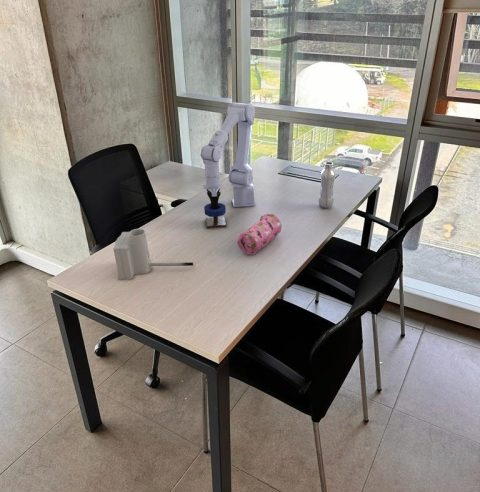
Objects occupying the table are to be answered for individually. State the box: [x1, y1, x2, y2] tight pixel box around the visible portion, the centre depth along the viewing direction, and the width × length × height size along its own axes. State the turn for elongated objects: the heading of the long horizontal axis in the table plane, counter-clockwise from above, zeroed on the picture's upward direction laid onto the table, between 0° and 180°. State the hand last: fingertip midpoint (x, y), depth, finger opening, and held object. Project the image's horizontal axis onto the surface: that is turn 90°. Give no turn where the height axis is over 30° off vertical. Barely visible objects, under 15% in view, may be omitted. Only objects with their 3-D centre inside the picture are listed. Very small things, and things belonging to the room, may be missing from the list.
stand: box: [205, 216, 227, 229], centre depth 191 cm, size 8×8×6 cm
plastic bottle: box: [318, 161, 336, 209], centre depth 199 cm, size 6×7×20 cm
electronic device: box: [113, 228, 194, 280], centre depth 158 cm, size 12×26×15 cm, turn 88°
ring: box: [203, 202, 227, 218], centre depth 189 cm, size 9×9×2 cm
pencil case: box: [237, 213, 283, 256], centre depth 174 cm, size 21×9×9 cm, turn 150°
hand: (214, 206), depth 192 cm, fingers closed on ring, 2 cm apart
